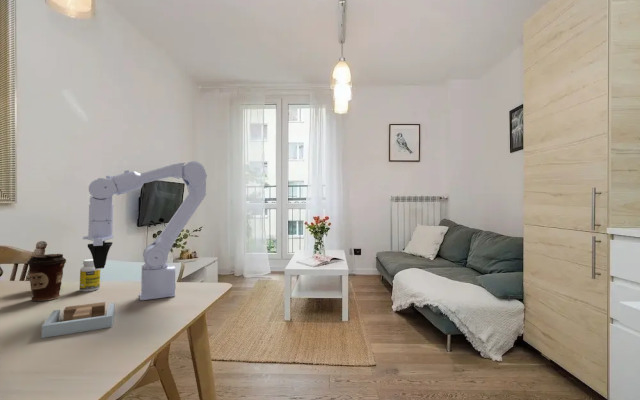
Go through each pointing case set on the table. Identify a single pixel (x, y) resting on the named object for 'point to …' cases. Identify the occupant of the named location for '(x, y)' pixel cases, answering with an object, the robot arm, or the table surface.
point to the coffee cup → (46, 276)
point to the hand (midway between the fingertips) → (99, 268)
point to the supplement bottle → (89, 276)
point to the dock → (76, 323)
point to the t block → (84, 311)
